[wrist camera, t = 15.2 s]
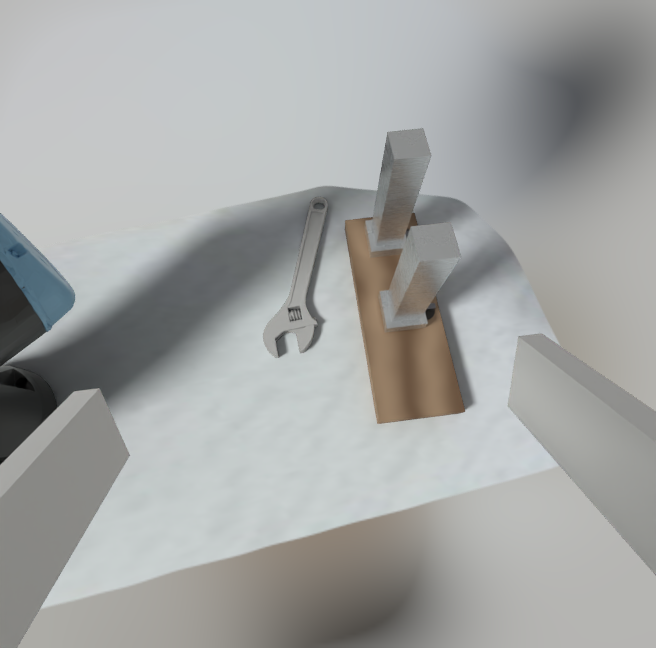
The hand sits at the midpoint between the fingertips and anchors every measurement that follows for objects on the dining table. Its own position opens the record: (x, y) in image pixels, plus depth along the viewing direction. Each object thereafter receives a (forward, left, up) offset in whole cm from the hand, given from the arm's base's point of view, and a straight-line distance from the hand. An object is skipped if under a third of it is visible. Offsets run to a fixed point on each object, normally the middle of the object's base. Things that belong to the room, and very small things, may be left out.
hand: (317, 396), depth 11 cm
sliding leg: (+12, +14, -29) cm, 34 cm away
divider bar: (+11, +15, -32) cm, 37 cm away
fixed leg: (+12, +25, -30) cm, 40 cm away
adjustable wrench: (0, +22, -32) cm, 39 cm away
